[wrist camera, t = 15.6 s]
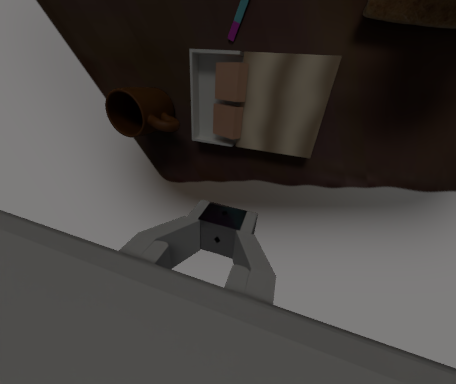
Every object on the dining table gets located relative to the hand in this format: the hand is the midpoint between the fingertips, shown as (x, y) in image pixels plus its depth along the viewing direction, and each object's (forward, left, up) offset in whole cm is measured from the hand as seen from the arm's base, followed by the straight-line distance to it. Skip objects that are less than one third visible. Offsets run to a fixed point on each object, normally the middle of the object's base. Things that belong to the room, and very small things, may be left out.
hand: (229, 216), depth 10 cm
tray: (+11, -3, -28) cm, 30 cm away
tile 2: (+7, 0, -26) cm, 27 cm away
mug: (+21, 0, -28) cm, 35 cm away
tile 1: (+7, -6, -26) cm, 28 cm away
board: (0, -3, -28) cm, 28 cm away
